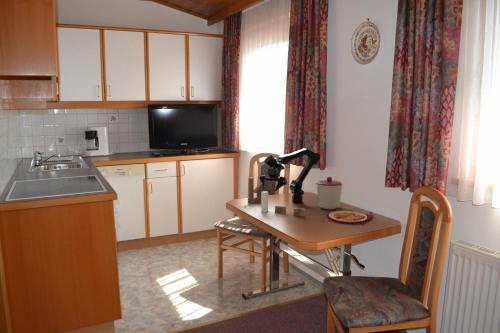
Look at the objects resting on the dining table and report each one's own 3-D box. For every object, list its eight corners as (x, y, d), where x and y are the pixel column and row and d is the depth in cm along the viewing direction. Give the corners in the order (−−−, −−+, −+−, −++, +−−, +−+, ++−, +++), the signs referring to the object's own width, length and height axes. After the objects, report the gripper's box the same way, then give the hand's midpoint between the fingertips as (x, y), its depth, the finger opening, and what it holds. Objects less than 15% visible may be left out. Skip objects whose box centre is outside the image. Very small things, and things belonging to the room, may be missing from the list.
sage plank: (264, 210, 266) (264, 191, 264) (268, 211, 264) (268, 191, 262) (261, 211, 262) (261, 192, 260) (265, 212, 261) (265, 192, 259)
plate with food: (331, 213, 262) (331, 207, 261) (373, 216, 250) (373, 211, 250) (320, 223, 240) (320, 217, 240) (366, 228, 229) (366, 221, 228)
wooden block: (263, 202, 289) (263, 177, 286) (249, 203, 284) (249, 178, 282) (261, 200, 292) (261, 176, 290) (247, 202, 288) (247, 177, 285)
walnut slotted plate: (274, 212, 259) (274, 206, 259) (275, 212, 261) (275, 205, 260) (304, 216, 250) (304, 209, 249) (305, 216, 251) (305, 209, 251)
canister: (319, 203, 284) (319, 173, 281) (345, 206, 276) (346, 175, 273) (311, 209, 268) (312, 177, 265) (339, 212, 260) (340, 179, 257)
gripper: (260, 163, 274) (252, 182, 266) (285, 165, 265) (278, 184, 257) (265, 173, 282) (258, 191, 274) (290, 175, 273) (283, 194, 265)
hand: (269, 190), depth 267 cm, fingers open, 9 cm apart
